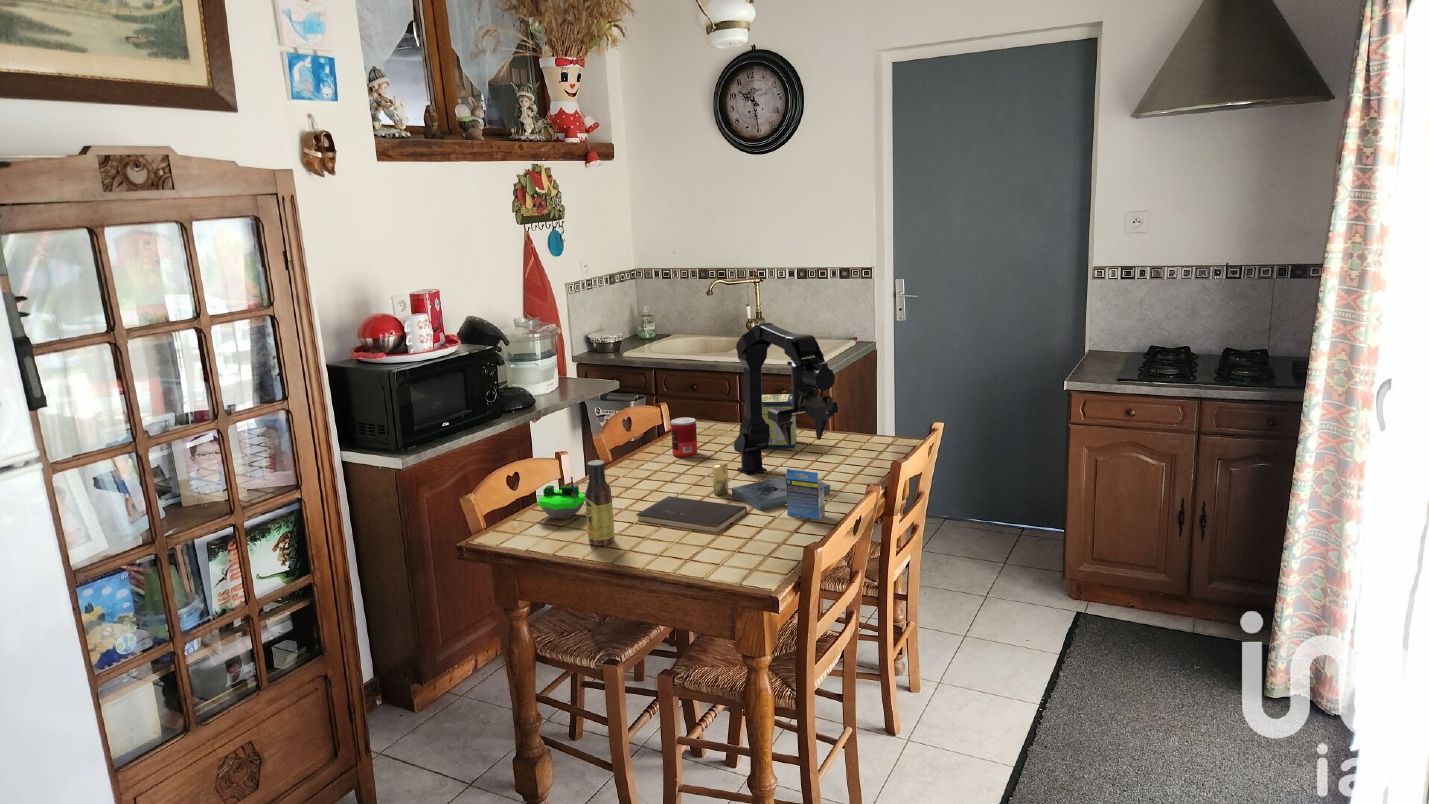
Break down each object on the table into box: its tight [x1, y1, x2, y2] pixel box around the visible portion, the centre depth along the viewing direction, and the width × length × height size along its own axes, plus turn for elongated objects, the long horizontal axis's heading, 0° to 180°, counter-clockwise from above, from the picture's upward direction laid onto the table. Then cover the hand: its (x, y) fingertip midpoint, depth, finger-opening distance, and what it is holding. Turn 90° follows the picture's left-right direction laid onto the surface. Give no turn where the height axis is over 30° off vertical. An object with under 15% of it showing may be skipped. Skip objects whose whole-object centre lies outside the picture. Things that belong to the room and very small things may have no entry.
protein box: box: [743, 393, 797, 450], centre depth 299 cm, size 10×16×16 cm
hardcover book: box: [635, 495, 748, 533], centre depth 238 cm, size 16×23×2 cm
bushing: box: [712, 462, 730, 497], centre depth 254 cm, size 4×4×8 cm
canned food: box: [670, 416, 698, 459], centre depth 293 cm, size 8×8×11 cm
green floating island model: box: [537, 476, 585, 520], centre depth 241 cm, size 12×12×11 cm
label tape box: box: [785, 468, 826, 521], centre depth 233 cm, size 9×4×12 cm, turn 60°
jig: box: [731, 474, 831, 511], centre depth 251 cm, size 14×22×3 cm, turn 120°
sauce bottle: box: [584, 459, 615, 547], centre depth 221 cm, size 7×6×20 cm
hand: (804, 442), depth 247 cm, fingers open, 9 cm apart
